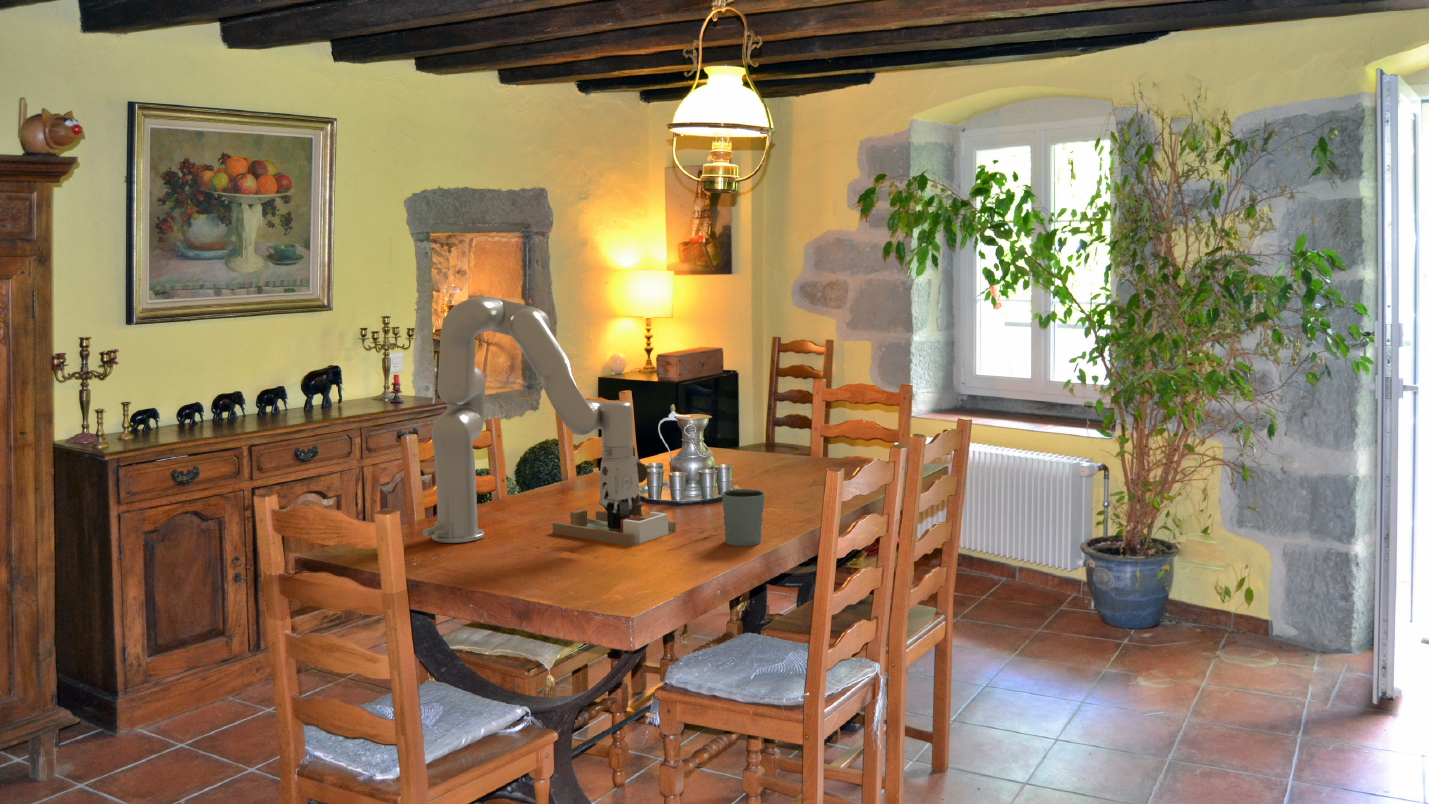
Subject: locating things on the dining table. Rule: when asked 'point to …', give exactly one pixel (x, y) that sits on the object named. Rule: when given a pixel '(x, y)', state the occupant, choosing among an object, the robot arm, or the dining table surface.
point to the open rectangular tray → (631, 533)
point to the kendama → (641, 477)
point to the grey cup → (743, 516)
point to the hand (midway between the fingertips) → (619, 525)
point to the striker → (623, 514)
